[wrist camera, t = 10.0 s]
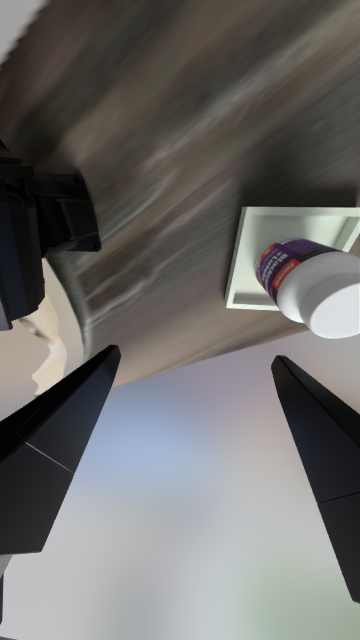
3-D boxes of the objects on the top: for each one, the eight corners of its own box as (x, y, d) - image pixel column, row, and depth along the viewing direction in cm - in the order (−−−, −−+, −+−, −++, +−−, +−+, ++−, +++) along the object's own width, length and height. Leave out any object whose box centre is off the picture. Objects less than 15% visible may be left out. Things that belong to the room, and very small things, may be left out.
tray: (224, 300, 21) (226, 307, 19) (242, 206, 15) (247, 206, 13) (304, 304, 20) (312, 312, 19) (356, 207, 14) (373, 208, 13)
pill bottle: (256, 238, 16) (315, 272, 8) (317, 231, 15) (448, 260, 7) (250, 289, 19) (287, 348, 11) (299, 285, 18) (378, 346, 10)
